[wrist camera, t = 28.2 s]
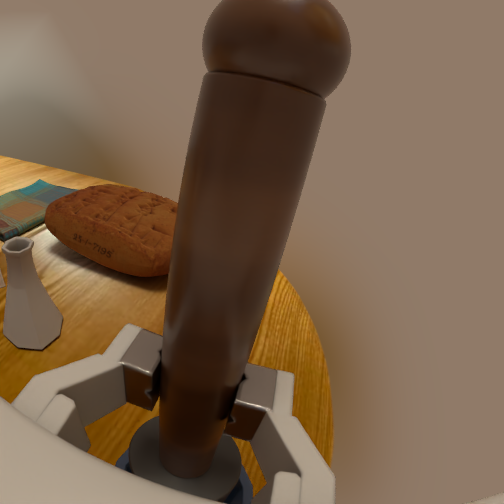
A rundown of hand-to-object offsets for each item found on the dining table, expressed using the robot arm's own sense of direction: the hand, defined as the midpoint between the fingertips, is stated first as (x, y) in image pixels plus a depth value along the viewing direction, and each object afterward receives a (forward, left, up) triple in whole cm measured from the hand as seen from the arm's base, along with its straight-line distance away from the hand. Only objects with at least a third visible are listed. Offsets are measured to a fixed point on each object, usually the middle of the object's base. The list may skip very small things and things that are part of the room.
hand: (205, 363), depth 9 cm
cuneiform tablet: (+37, +1, -16) cm, 41 cm away
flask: (+19, +12, -16) cm, 28 cm away
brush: (-1, 0, -9) cm, 9 cm away
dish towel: (+52, +22, -16) cm, 59 cm away
